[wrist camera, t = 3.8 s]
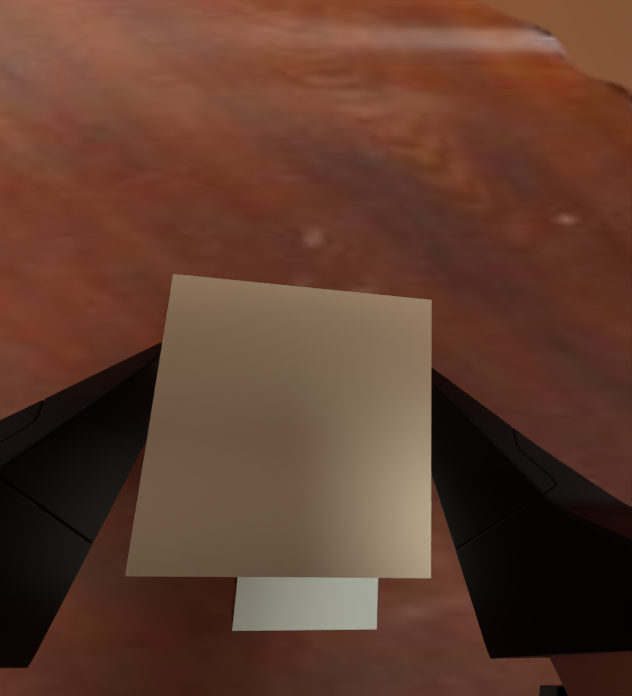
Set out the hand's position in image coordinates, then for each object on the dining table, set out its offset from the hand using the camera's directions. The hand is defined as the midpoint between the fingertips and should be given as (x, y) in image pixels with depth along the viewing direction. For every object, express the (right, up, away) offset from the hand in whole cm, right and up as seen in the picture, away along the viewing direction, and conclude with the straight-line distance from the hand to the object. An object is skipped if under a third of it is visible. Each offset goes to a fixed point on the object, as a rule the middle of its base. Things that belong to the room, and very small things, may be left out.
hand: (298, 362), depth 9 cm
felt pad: (0, -11, +5) cm, 12 cm away
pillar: (-1, -2, +6) cm, 6 cm away
